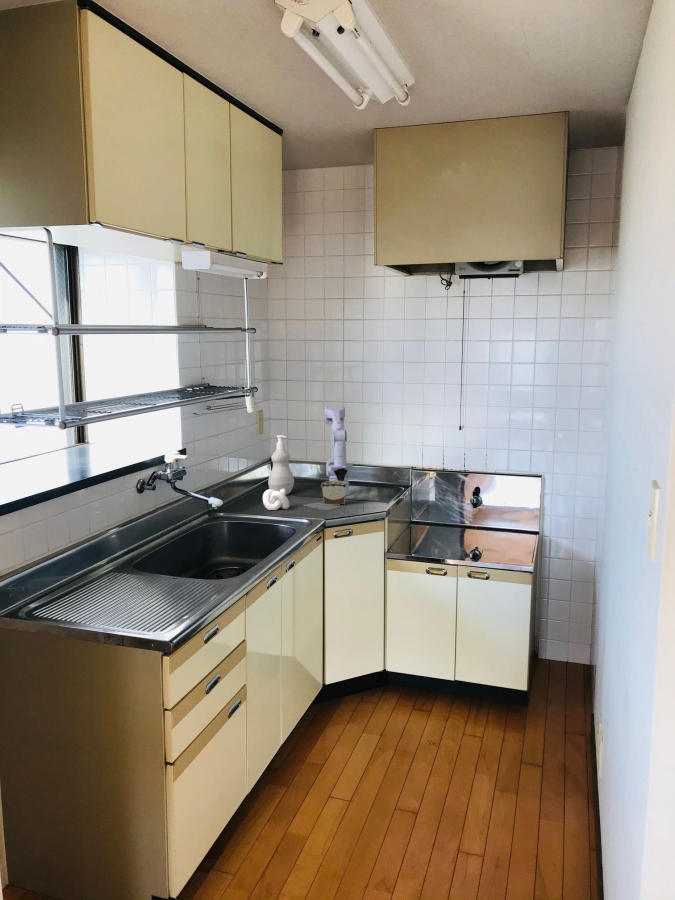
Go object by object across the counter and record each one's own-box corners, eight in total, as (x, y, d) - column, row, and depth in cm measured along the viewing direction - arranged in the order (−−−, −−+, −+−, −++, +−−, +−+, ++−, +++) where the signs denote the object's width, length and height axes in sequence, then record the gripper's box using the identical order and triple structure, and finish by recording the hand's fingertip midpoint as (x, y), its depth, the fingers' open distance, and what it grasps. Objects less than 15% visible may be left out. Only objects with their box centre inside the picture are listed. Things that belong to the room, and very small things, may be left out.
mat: (317, 502, 334) (317, 502, 334) (342, 507, 323) (342, 506, 323) (302, 505, 328) (302, 505, 328) (327, 510, 317) (327, 510, 316)
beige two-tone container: (349, 501, 333) (348, 480, 332) (347, 504, 327) (347, 483, 326) (322, 501, 335) (322, 480, 333) (320, 504, 329) (320, 483, 327)
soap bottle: (283, 497, 348) (282, 437, 344) (262, 496, 353) (261, 436, 349) (299, 491, 363) (298, 434, 359) (279, 490, 368) (278, 433, 364)
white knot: (268, 506, 329) (267, 486, 328) (293, 506, 327) (293, 487, 325) (261, 511, 318) (260, 491, 317) (287, 511, 316) (287, 491, 314)
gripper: (335, 458, 323) (336, 487, 324) (357, 454, 333) (357, 483, 335) (324, 457, 328) (325, 486, 329) (346, 454, 338) (346, 482, 339)
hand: (340, 485), depth 332 cm, fingers closed, pressing on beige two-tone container
